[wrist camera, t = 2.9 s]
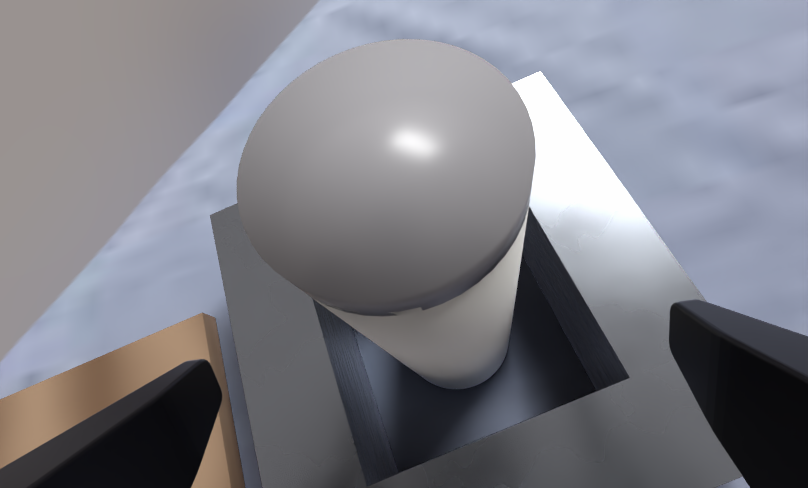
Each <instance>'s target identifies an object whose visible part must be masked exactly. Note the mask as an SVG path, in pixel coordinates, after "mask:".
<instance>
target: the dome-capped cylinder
mask: <svg viewBox="0 0 808 488" xmlns="http://www.w3.org/2000/svg"><path fill="white" fill-rule="evenodd" d="M535 161H536V140H535V134H534V129H533V123H532V120H531V118H530V115H529V112H528V109H527V107H526V105H525V103H524V101H523V99H522V98H521V96H520V94H519V92H518V91H517V90H516V88H515V87H514V86H513V85H512V83H511V82H510V81H509V80H508V79H507V78H506V77H505V76H504V75H503V74H502V73H501V72H500V71H499V70H498V69H497V68H495V67H494V66H493V65H491V64H490V63H488V62H487V61H485V60H484V59H483V58H481V57H479V56H477V55H475V54H473V53H471V52H469V51H467V50H464V49H461V48H458V47H456V46H453V45H449V44H445V43H440V42H436V41H428V40H420V39H398V40H387V41H380V42H375V43H370V44H366V45H362V46H359V47H355V48H352V49H349V50H346V51H344V52H341V53H339V54H336V55H334V56H332V57H330V58H328V59H326V60H324V61H322V62H320V63H318V64H317V65H315V66H313V67H312V68H310V69H309V70H307V71H305V72H304V73H303V74H301V75H300V76H299V77H297V78H296V79H295V80H293V81H292V82H291V83H290V84H289V85H288V86H287V87H286V88H284V89H283V90H282V91H281V92H280V93H279V94H278V95H277V96H276V97H275V99H274V100H273V101H272V102H271V103H270V104H269V105H268V107H267V108H266V109H265V111H264V112H263V114H262V115H261V116H260V118H259V119H258V121H257V123H256V124H255V126H254V128H253V130H252V131H251V133H250V135H249V138H248V140H247V142H246V145H245V147H244V150H243V153H242V157H241V160H240V164H239V170H238V177H237V202H238V208H239V214H240V218H241V221H242V224H243V227H244V230H245V232H246V234H247V236H248V238H249V240H250V242H251V244H252V246H253V247H254V248H255V250H256V251H257V252H258V254H259V255H260V257H261V258H262V259H263V260H264V261H265V262H266V263H267V264H268V265H269V266H270V267H271V268H272V269H273V270H274V271H275V272H277V273H278V274H279V275H281V276H282V277H284V278H285V279H286V280H288V281H289V282H290V283H292V284H293V285H295V286H296V287H297V288H299V289H300V290H302V291H303V292H304V293H306V294H307V295H309V296H310V297H311V298H313V299H314V300H315V301H317V302H318V303H320V304H321V305H322V306H324V307H325V308H327V309H328V310H329V311H331V312H332V313H334V314H335V315H336V316H338V317H339V318H341V319H342V320H343V321H345V322H346V323H347V324H349V325H350V326H352V327H353V328H354V329H356V330H357V331H359V332H360V333H361V334H363V335H364V336H366V337H367V338H368V339H370V340H371V341H373V342H374V343H375V344H377V345H378V346H379V347H381V348H382V349H384V350H385V351H386V352H388V353H389V354H391V355H392V356H393V357H395V358H396V359H398V360H399V361H400V362H402V363H403V364H404V365H406V366H407V367H409V368H410V369H411V370H413V371H414V372H416V373H417V374H418V375H420V376H421V377H423V378H424V379H425V380H427V381H428V382H430V383H432V384H434V385H436V386H439V387H442V388H447V389H466V388H470V387H473V386H476V385H479V384H480V383H482V382H484V381H486V380H487V379H489V378H490V377H491V376H492V375H493V374H494V373H495V372H496V371H497V370H498V369H499V367H500V366H501V364H502V362H503V361H504V358H505V356H506V354H507V350H508V346H509V339H510V332H511V325H512V318H513V312H514V305H515V298H516V291H517V284H518V277H519V271H520V264H521V257H522V250H523V243H524V237H525V230H526V223H527V216H528V209H529V202H530V196H531V189H532V182H533V175H534V168H535Z"/></svg>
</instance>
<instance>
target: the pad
mask: <svg viewBox="0 0 808 488" xmlns="http://www.w3.org/2000/svg"><path fill="white" fill-rule="evenodd" d="M198 359H205V360H207V361H208V362H209V363H210V364H211V366H212V369H213V371H214V373H215V375H216V378H217V380H218V382H219V385H220V387H221V390H222V403H221V406H220V409H219V412H218V415H217V418H216V421H215V424H214V427H213V430H212V432H211V435H210V438H209V441H208V444H207V447H206V450H205V453H204V456H203V459H202V462H201V465H200V467H199V470H198V473H197V475H196V478H195V480H194V482H193V485H192V487H191V488H245V483H244V477H243V472H242V466H241V460H240V455H239V449H238V443H237V438H236V432H235V426H234V421H233V415H232V410H231V404H230V398H229V393H228V387H227V381H226V376H225V370H224V364H223V359H222V353H221V347H220V342H219V336H218V331H217V325H216V319H215V318H214V317H212V316H209V315H207V314H204V313H200V314H198V315H196V316H193V317H191V318H189V319H186V320H184V321H182V322H180V323H177V324H175V325H173V326H170V327H168V328H166V329H163V330H161V331H159V332H156V333H154V334H152V335H149V336H147V337H145V338H142V339H140V340H138V341H135V342H133V343H131V344H128V345H126V346H124V347H121V348H119V349H117V350H114V351H112V352H110V353H107V354H105V355H103V356H100V357H98V358H96V359H93V360H91V361H89V362H86V363H84V364H82V365H79V366H77V367H75V368H72V369H70V370H68V371H65V372H63V373H61V374H58V375H56V376H54V377H52V378H49V379H47V380H45V381H42V382H40V383H38V384H35V385H33V386H31V387H28V388H26V389H24V390H21V391H19V392H17V393H14V394H12V395H10V396H7V397H5V398H3V399H0V469H1V468H2V467H4V466H6V465H8V464H9V463H11V462H13V461H15V460H16V459H18V458H20V457H21V456H23V455H25V454H27V453H28V452H30V451H32V450H34V449H35V448H37V447H39V446H40V445H42V444H44V443H46V442H47V441H49V440H51V439H52V438H54V437H56V436H58V435H59V434H61V433H63V432H65V431H66V430H68V429H70V428H71V427H73V426H75V425H77V424H78V423H80V422H82V421H83V420H85V419H87V418H89V417H90V416H92V415H94V414H96V413H97V412H99V411H101V410H102V409H104V408H106V407H108V406H109V405H111V404H113V403H114V402H116V401H118V400H120V399H121V398H123V397H125V396H127V395H128V394H130V393H132V392H133V391H135V390H137V389H139V388H140V387H142V386H144V385H145V384H147V383H149V382H151V381H152V380H154V379H156V378H158V377H159V376H161V375H163V374H164V373H166V372H168V371H170V370H171V369H173V368H175V367H176V366H178V365H180V364H182V363H183V362H185V361H189V360H198Z"/></svg>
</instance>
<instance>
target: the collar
mask: <svg viewBox="0 0 808 488" xmlns="http://www.w3.org/2000/svg"><path fill="white" fill-rule="evenodd" d="M512 85H513V86H514V87H515V88H516V90H517V91H518V92H519V94H520V96H521V98H522V99H523V101H524V103H525V105H526V107H527V109H528V112H529V115H530V118H531V120H532V123H533V129H534V134H535V140H536V161H535V168H534V175H533V182H532V189H531V196H530V202H529V209H528V216H527V223H526V230H525V237H524V243H523V250H522V255H523V257H524V259H525V261H526V263H527V265H528V266H529V268H530V270H531V272H532V274H533V276H534V277H535V279H536V281H537V283H538V285H539V287H540V288H541V290H542V292H543V294H544V296H545V298H546V299H547V301H548V303H549V305H550V307H551V309H552V310H553V312H554V314H555V316H556V318H557V320H558V321H559V323H560V325H561V327H562V329H563V331H564V332H565V334H566V336H567V338H568V340H569V341H570V343H571V345H572V347H573V349H574V351H575V352H576V354H577V356H578V358H579V360H580V362H581V363H582V365H583V367H584V369H585V371H586V373H587V374H588V376H589V378H590V380H591V382H592V384H593V385H594V387H595V389H596V391H595V392H593V393H590V394H588V395H585V396H583V397H581V398H578V399H576V400H573V401H571V402H569V403H566V404H564V405H561V406H559V407H556V408H554V409H552V410H549V411H547V412H544V413H542V414H540V415H537V416H535V417H532V418H530V419H528V420H525V421H523V422H520V423H518V424H515V425H513V426H511V427H508V428H506V429H503V430H501V431H499V432H496V433H494V434H491V435H489V436H486V437H484V438H482V439H479V440H477V441H474V442H472V443H470V444H467V445H465V446H462V447H460V448H458V449H455V450H453V451H450V452H448V453H445V454H443V455H441V456H438V457H436V458H433V459H431V460H429V461H426V462H424V463H421V464H419V465H416V466H414V467H412V468H409V469H407V470H404V471H402V472H400V473H398V469H397V466H396V463H395V460H394V457H393V454H392V451H391V448H390V445H389V441H388V438H387V435H386V432H385V429H384V426H383V423H382V420H381V417H380V413H379V410H378V407H377V404H376V401H375V398H374V395H373V392H372V389H371V385H370V382H369V379H368V376H367V373H366V370H365V367H364V364H363V361H362V357H361V354H360V351H359V348H358V345H357V342H356V339H355V336H354V333H353V329H352V326H350V325H349V324H347V323H346V322H345V321H343V320H342V319H341V318H339V317H338V316H336V315H335V314H334V313H332V312H331V311H329V310H328V309H327V308H325V307H324V306H322V305H321V304H320V303H318V302H317V301H315V300H314V299H313V298H311V297H310V296H309V295H307V294H306V293H304V292H303V291H302V290H300V289H299V288H297V287H296V286H295V285H293V284H292V283H290V282H289V281H288V280H286V279H285V278H284V277H282V276H281V275H279V274H278V273H277V272H275V271H274V270H273V269H272V268H271V267H270V266H269V265H268V264H267V263H266V262H265V261H264V260H263V259H262V258H261V257H260V255H259V254H258V252H257V251H256V250H255V248H254V247H253V246H252V244H251V242H250V240H249V238H248V236H247V234H246V232H245V230H244V227H243V224H242V221H241V218H240V214H239V208H238V203H237V204H235V205H232V206H230V207H228V208H226V209H223V210H221V211H219V212H216V213H214V214H212V215H210V218H211V223H212V229H213V234H214V239H215V244H216V249H217V254H218V260H219V265H220V270H221V275H222V280H223V286H224V291H225V296H226V301H227V306H228V311H229V317H230V322H231V327H232V332H233V337H234V343H235V348H236V353H237V358H238V363H239V369H240V374H241V379H242V384H243V389H244V394H245V400H246V405H247V410H248V415H249V420H250V426H251V431H252V436H253V441H254V446H255V451H256V457H257V462H258V467H259V472H260V477H261V483H262V488H715V487H718V486H720V485H723V484H725V483H727V482H730V481H732V480H735V479H737V478H740V477H742V474H741V473H740V471H739V470H738V468H737V467H736V465H735V464H734V463H733V461H732V460H731V458H730V457H729V455H728V454H727V452H726V451H725V449H724V448H723V446H722V445H721V443H720V442H719V440H718V438H717V437H716V435H715V434H714V432H713V431H712V429H711V427H710V425H709V423H708V422H707V420H706V418H705V416H704V414H703V412H702V411H701V409H700V407H699V405H698V403H697V401H696V399H695V397H694V395H693V393H692V391H691V390H690V388H689V386H688V384H687V382H686V380H685V378H684V376H683V374H682V372H681V371H680V369H679V367H678V365H677V363H676V361H675V359H674V357H673V355H672V353H671V350H670V346H669V321H670V308H671V305H672V304H673V303H674V302H677V301H685V300H693V299H698V300H702V301H705V302H706V300H705V299H704V297H703V296H702V295H701V293H700V292H699V291H698V289H697V288H696V286H695V285H694V284H693V282H692V281H691V279H690V278H689V277H688V275H687V274H686V272H685V271H684V270H683V268H682V267H681V266H680V264H679V263H678V261H677V260H676V259H675V257H674V256H673V254H672V253H671V252H670V250H669V249H668V248H667V246H666V245H665V243H664V242H663V241H662V239H661V238H660V236H659V235H658V234H657V232H656V231H655V229H654V228H653V227H652V225H651V224H650V223H649V221H648V220H647V218H646V217H645V216H644V214H643V213H642V211H641V210H640V209H639V207H638V206H637V205H636V203H635V202H634V200H633V199H632V198H631V196H630V195H629V193H628V192H627V191H626V189H625V188H624V186H623V185H622V184H621V182H620V181H619V180H618V178H617V177H616V175H615V174H614V173H613V171H612V170H611V168H610V167H609V166H608V164H607V163H606V162H605V160H604V159H603V157H602V156H601V155H600V153H599V152H598V150H597V149H596V148H595V146H594V145H593V144H592V142H591V141H590V139H589V138H588V137H587V135H586V134H585V132H584V131H583V130H582V128H581V127H580V125H579V124H578V123H577V121H576V120H575V119H574V117H573V116H572V114H571V113H570V112H569V110H568V109H567V107H566V106H565V105H564V103H563V102H562V101H561V99H560V98H559V96H558V95H557V94H556V92H555V91H554V89H553V88H552V87H551V85H550V84H549V82H548V81H547V80H546V78H545V77H544V76H543V74H542V73H541V71H540V72H538V73H535V74H533V75H531V76H529V77H526V78H524V79H522V80H519V81H517V82H515V83H512Z"/></svg>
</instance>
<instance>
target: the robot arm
mask: <svg viewBox="0 0 808 488" xmlns="http://www.w3.org/2000/svg"><path fill="white" fill-rule="evenodd" d="M669 346H670V350H671V353H672V355H673V357H674V359H675V361H676V363H677V365H678V367H679V369H680V371H681V372H682V374H683V376H684V378H685V380H686V382H687V384H688V386H689V388H690V390H691V391H692V393H693V395H694V397H695V399H696V401H697V403H698V405H699V407H700V409H701V411H702V412H703V414H704V416H705V418H706V420H707V422H708V423H709V425H710V427H711V429H712V431H713V432H714V434H715V435H716V437H717V438H718V440H719V442H720V443H721V445H722V446H723V448H724V449H725V451H726V452H727V454H728V455H729V457H730V458H731V460H732V461H733V463H734V464H735V465H736V467H737V468H738V470H739V471H740V473H741V474H742V476H743V477H744V479H745V480H746V482H747V483H748V485H749V486H750V488H808V336H805V335H802V334H799V333H796V332H793V331H790V330H787V329H784V328H781V327H778V326H775V325H772V324H770V323H767V322H764V321H761V320H758V319H755V318H752V317H749V316H746V315H743V314H740V313H737V312H734V311H731V310H728V309H725V308H722V307H720V306H717V305H714V304H711V303H708V302H705V301H702V300H698V299H693V300H685V301H677V302H674V303H673V304H672V305H671V308H670V321H669ZM221 403H222V390H221V387H220V385H219V382H218V380H217V378H216V375H215V373H214V371H213V369H212V366H211V364H210V363H209V362H208V361H207V360H205V359H198V360H189V361H185V362H183V363H182V364H180V365H178V366H176V367H175V368H173V369H171V370H170V371H168V372H166V373H164V374H163V375H161V376H159V377H158V378H156V379H154V380H152V381H151V382H149V383H147V384H145V385H144V386H142V387H140V388H139V389H137V390H135V391H133V392H132V393H130V394H128V395H127V396H125V397H123V398H121V399H120V400H118V401H116V402H114V403H113V404H111V405H109V406H108V407H106V408H104V409H102V410H101V411H99V412H97V413H96V414H94V415H92V416H90V417H89V418H87V419H85V420H83V421H82V422H80V423H78V424H77V425H75V426H73V427H71V428H70V429H68V430H66V431H65V432H63V433H61V434H59V435H58V436H56V437H54V438H52V439H51V440H49V441H47V442H46V443H44V444H42V445H40V446H39V447H37V448H35V449H34V450H32V451H30V452H28V453H27V454H25V455H23V456H21V457H20V458H18V459H16V460H15V461H13V462H11V463H9V464H8V465H6V466H4V467H2V468H1V469H0V488H191V487H192V485H193V482H194V480H195V478H196V475H197V473H198V470H199V467H200V465H201V462H202V459H203V456H204V453H205V450H206V447H207V444H208V441H209V438H210V435H211V432H212V430H213V427H214V424H215V421H216V418H217V415H218V412H219V409H220V406H221Z"/></svg>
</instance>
